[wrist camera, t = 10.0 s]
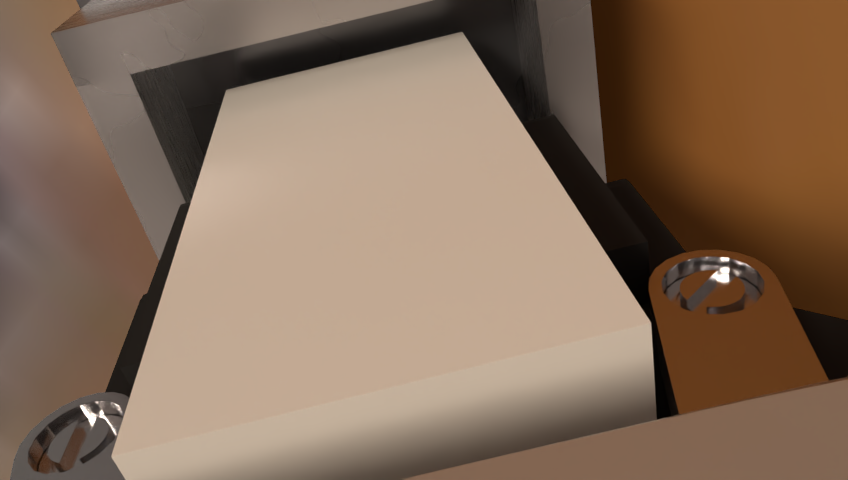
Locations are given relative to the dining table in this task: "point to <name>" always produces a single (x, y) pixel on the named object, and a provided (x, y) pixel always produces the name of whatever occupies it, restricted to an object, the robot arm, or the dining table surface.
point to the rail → (297, 70)
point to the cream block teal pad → (380, 288)
